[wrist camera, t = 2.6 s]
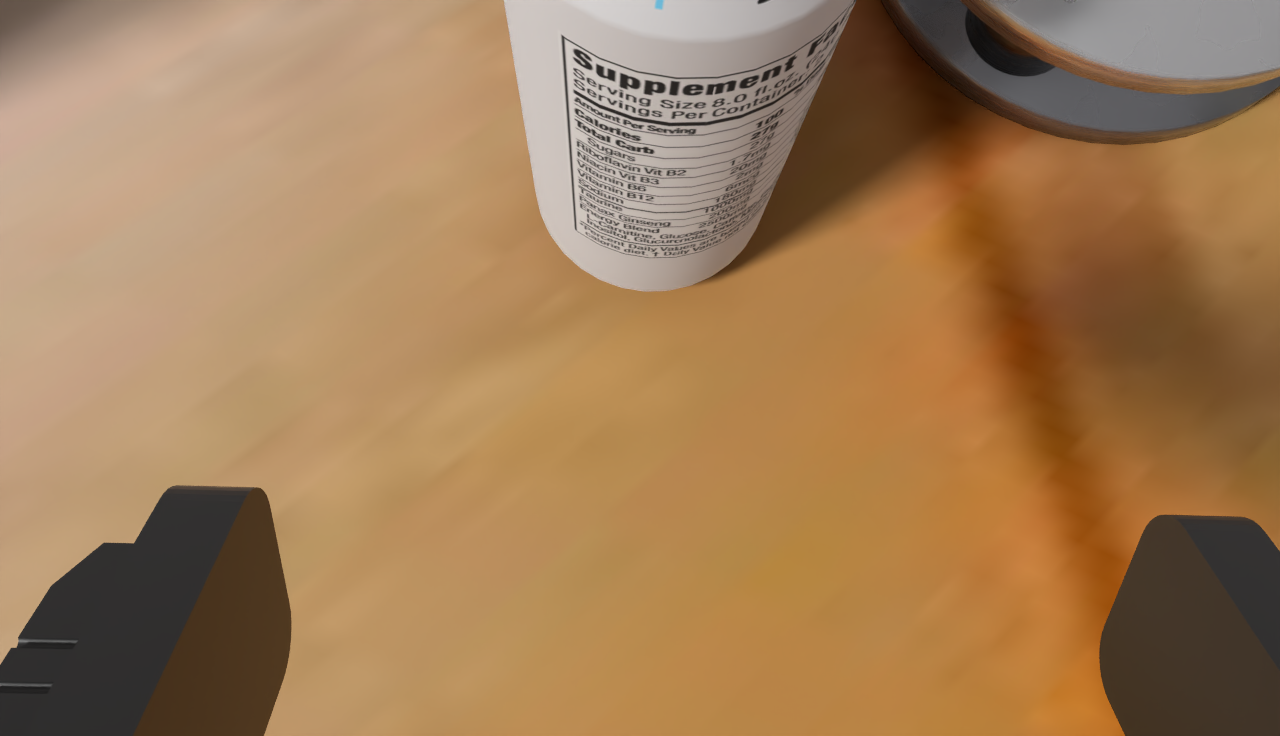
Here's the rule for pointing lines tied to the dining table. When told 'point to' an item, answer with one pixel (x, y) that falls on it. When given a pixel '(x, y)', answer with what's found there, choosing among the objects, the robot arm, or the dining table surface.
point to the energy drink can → (664, 123)
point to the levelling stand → (1101, 61)
